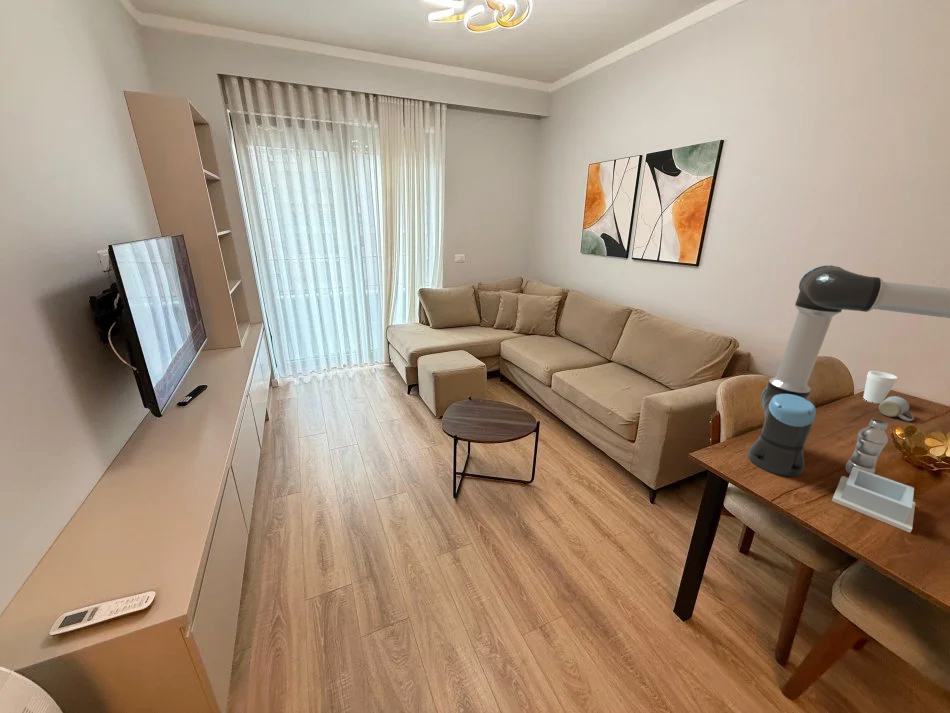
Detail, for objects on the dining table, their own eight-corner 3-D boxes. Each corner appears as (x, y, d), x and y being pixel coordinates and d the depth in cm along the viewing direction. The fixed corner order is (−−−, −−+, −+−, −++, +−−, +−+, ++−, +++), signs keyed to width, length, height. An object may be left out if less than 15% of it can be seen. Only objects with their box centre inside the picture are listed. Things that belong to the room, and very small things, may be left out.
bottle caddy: (831, 500, 113) (838, 483, 111) (840, 478, 123) (847, 462, 121) (910, 532, 102) (919, 514, 100) (913, 505, 112) (922, 488, 110)
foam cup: (853, 397, 181) (863, 371, 177) (866, 395, 184) (876, 369, 180) (878, 406, 173) (889, 379, 168) (891, 403, 175) (902, 377, 171)
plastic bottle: (862, 484, 121) (886, 428, 114) (838, 471, 127) (859, 417, 120) (876, 480, 123) (900, 425, 116) (851, 468, 129) (873, 415, 122)
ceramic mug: (874, 413, 166) (881, 397, 164) (881, 408, 170) (888, 393, 168) (908, 424, 158) (916, 407, 155) (915, 419, 162) (923, 403, 159)
